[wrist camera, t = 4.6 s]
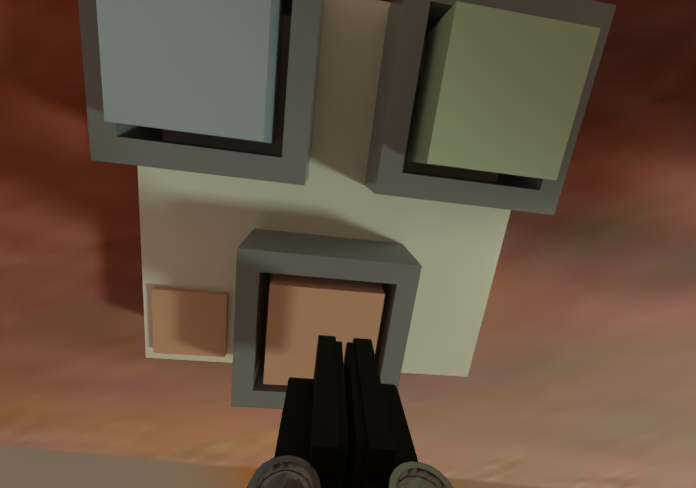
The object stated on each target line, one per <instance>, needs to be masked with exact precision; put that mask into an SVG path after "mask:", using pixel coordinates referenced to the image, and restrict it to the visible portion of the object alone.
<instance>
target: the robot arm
mask: <svg viewBox="0 0 696 488" xmlns="http://www.w3.org/2000/svg"><path fill="white" fill-rule="evenodd" d="M247 488H453V486H452V485H451V483H450V482H449V481H448V479H447V478H446V477H445V476H444V475H443V474H442V473H441V472H440V471H438V470H436V469H435V468H433V467H432V466H430V465H427V464H424V463H421V462H418V460H417V456H416V453H415V449H414V446H413V442H412V439H411V435H410V432H409V428H408V425H407V421H406V418H405V414H404V411H403V407H402V404H401V400H400V397H399V393H398V390H397V387H396V386H395V385H394V384H381V380H380V376H379V371H378V367H377V362H376V358H375V353H374V349H373V344H372V340H371V339H362V338H354V339H353V342H347V344H346V350H345V357H344V364H343V349H342V342H341V341H336V337H335V336H325V335H318V343H317V352H316V361H315V369H314V378H313V379H308V378H294V377H289V379H288V385H287V390H286V396H285V401H284V407H283V412H282V418H281V424H280V429H279V435H278V440H277V446H276V452H275V457H274V458H272V459H271V460H269V461H267V462H265V463H263V464H262V465H261V466H260V467H259V468H258V469H257V470H256V472H255V473H254V475H253V476H252V478H251V480H250V482H249V484H248V487H247Z"/></svg>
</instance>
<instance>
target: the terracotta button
mask: <svg viewBox="0 0 696 488" xmlns="http://www.w3.org/2000/svg"><path fill="white" fill-rule="evenodd" d="M384 298H385V293H384V290H383V288H382V286H381V284H380V283H377V282H366V281H354V280H343V279H332V278H321V277H309V276H298V275H287V274H276V273H274V275H273V278H272V280H271V283H270V289H269V304H268V319H267V334H266V349H265V364H264V379H263V384H271V385H288V379H289V377H294V378H308V379H313V378H314V369H315V361H316V352H317V343H318V335H325V336H335V337H336V341H341V342H342V349H343V364H344V357H345V350H346V344H347V342H353V339H354V338H362V339H371V340H372V344H373V349H374V353H375V352H376V346H377V340H378V334H379V328H380V322H381V316H382V310H383V304H384Z"/></svg>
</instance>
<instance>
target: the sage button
mask: <svg viewBox="0 0 696 488" xmlns="http://www.w3.org/2000/svg"><path fill="white" fill-rule="evenodd" d="M600 29H601V28H597V27H592V26H586V25H581V24H576V23H570V22H565V21H560V20H554V19H549V18H544V17H538V16H533V15H528V14H523V13H517V12H512V11H507V10H501V9H496V8H491V7H485V6H480V5H475V4H469V3H464V2H459V1H456V3H455V4H454V5H453V6H452V7H451V8H450V9H449V10H448V12H447V13H446V14H445V15H444V16H443V17H442V18H441V19H440V21H439V22H438V23H437V24H436V25H435V26H434V27H433V28H432V30H431V31H430V32H429V33H428V38H427V44H426V50H425V56H424V62H423V68H422V74H421V80H420V86H419V92H418V98H417V104H416V109H415V115H414V121H413V127H412V133H411V139H410V145H409V151H408V157H407V161H409V162H416V163H424V164H432V165H439V166H447V167H454V168H462V169H470V170H477V171H485V172H493V173H500V174H508V175H516V176H524V177H532V178H541V179H549V180H557V177H558V173H559V170H560V167H561V163H562V160H563V156H564V153H565V149H566V146H567V142H568V139H569V136H570V132H571V129H572V125H573V122H574V118H575V115H576V112H577V108H578V105H579V101H580V98H581V94H582V91H583V87H584V84H585V81H586V77H587V74H588V70H589V67H590V63H591V60H592V57H593V53H594V50H595V46H596V43H597V39H598V36H599V32H600Z"/></svg>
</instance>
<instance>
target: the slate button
mask: <svg viewBox="0 0 696 488" xmlns="http://www.w3.org/2000/svg"><path fill="white" fill-rule="evenodd" d="M96 6H97V21H98V36H99V50H100V65H101V79H102V94H103V109H104V121H107V122H114V123H121V124H128V125H135V126H142V127H149V128H157V129H164V130H172V131H180V132H187V133H195V134H202V135H210V136H218V137H225V138H233V139H241V140H248V141H256V142H264V143H271V144H275V139H276V123H277V107H278V91H279V76H280V60H281V44H282V28H283V13H284V7H283V3H282V0H96Z"/></svg>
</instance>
